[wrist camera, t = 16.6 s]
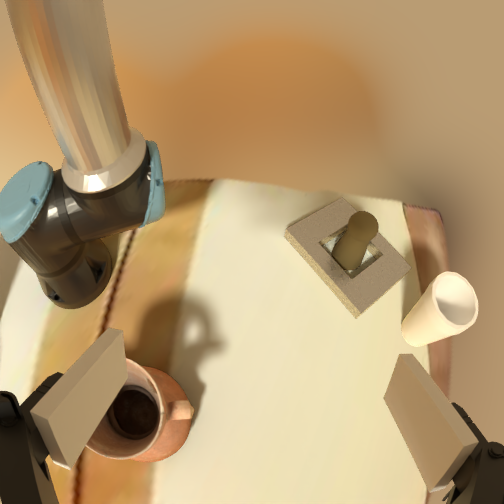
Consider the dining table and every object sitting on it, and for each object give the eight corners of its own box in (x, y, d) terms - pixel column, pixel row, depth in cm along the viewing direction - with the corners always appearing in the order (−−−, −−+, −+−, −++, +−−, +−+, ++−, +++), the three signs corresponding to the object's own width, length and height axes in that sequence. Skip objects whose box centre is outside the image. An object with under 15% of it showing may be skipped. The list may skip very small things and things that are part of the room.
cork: (349, 238, 58) (367, 201, 49) (367, 262, 55) (390, 227, 46) (325, 250, 56) (341, 212, 47) (344, 275, 54) (364, 241, 44)
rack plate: (284, 236, 58) (285, 228, 55) (339, 205, 63) (342, 197, 61) (355, 319, 49) (361, 313, 47) (406, 274, 54) (411, 267, 52)
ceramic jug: (199, 368, 44) (181, 342, 32) (207, 460, 36) (191, 473, 24) (92, 369, 42) (46, 343, 30) (94, 454, 35) (43, 455, 23)
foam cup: (421, 365, 45) (466, 342, 34) (384, 333, 48) (422, 302, 37) (442, 326, 48) (484, 296, 38) (409, 296, 52) (445, 260, 41)
